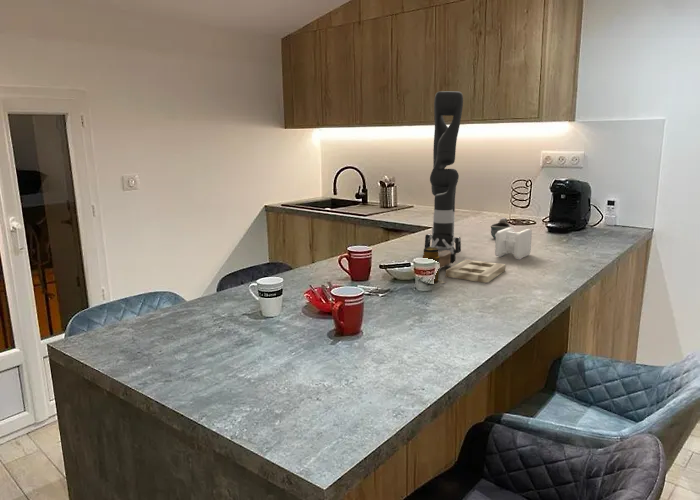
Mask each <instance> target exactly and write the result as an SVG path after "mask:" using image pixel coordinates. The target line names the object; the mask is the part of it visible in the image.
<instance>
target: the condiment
mask: <svg viewBox="0 0 700 500" xmlns="http://www.w3.org/2000/svg"><path fill="white" fill-rule="evenodd" d="M438 253H439V249H437V248H433V247H431V246H430V247H427V248H425V247H424V248H423V254H422V258H428V259H433V260H435V261H437V262H439V256H438ZM439 277H440V268H439V269H438V271H437V273H436V275H435V279H434V285H441V284H446V283H447V281H444V280H442V279H439Z"/></svg>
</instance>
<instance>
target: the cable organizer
mask: <svg viewBox="0 0 700 500" xmlns="http://www.w3.org/2000/svg"><path fill="white" fill-rule="evenodd" d="M532 235H533V230H532V228H531V229H530V228H526V229H523V230H522V231H518V232H516V231H515V229H514V227H510V228H509V227H508V228H505V229H503V230H500V231H498V232H497V233H496V234H495V237H496V239H495V241H494V242H495V245H494V248H495V249H494V255H495V256H496V257H498V258H501V257H503V256H505V255H508V254H512V256H514V258H515V259H517V260H519V261H520V260H522V259H523V258H524V257H525V258H526V257H528V256H529V255H530V254H531V251H532V237H533V236H532Z"/></svg>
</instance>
